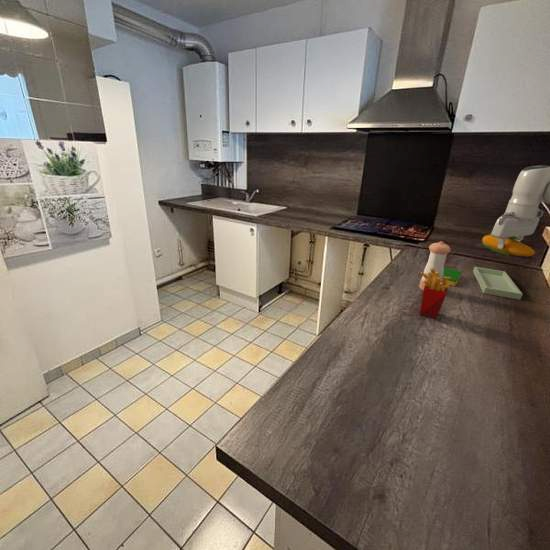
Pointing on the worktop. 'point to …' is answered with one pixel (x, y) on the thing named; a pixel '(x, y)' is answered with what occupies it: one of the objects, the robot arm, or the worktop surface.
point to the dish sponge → (454, 276)
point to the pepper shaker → (435, 260)
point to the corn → (508, 246)
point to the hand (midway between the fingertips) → (507, 247)
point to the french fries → (433, 294)
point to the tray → (496, 283)
